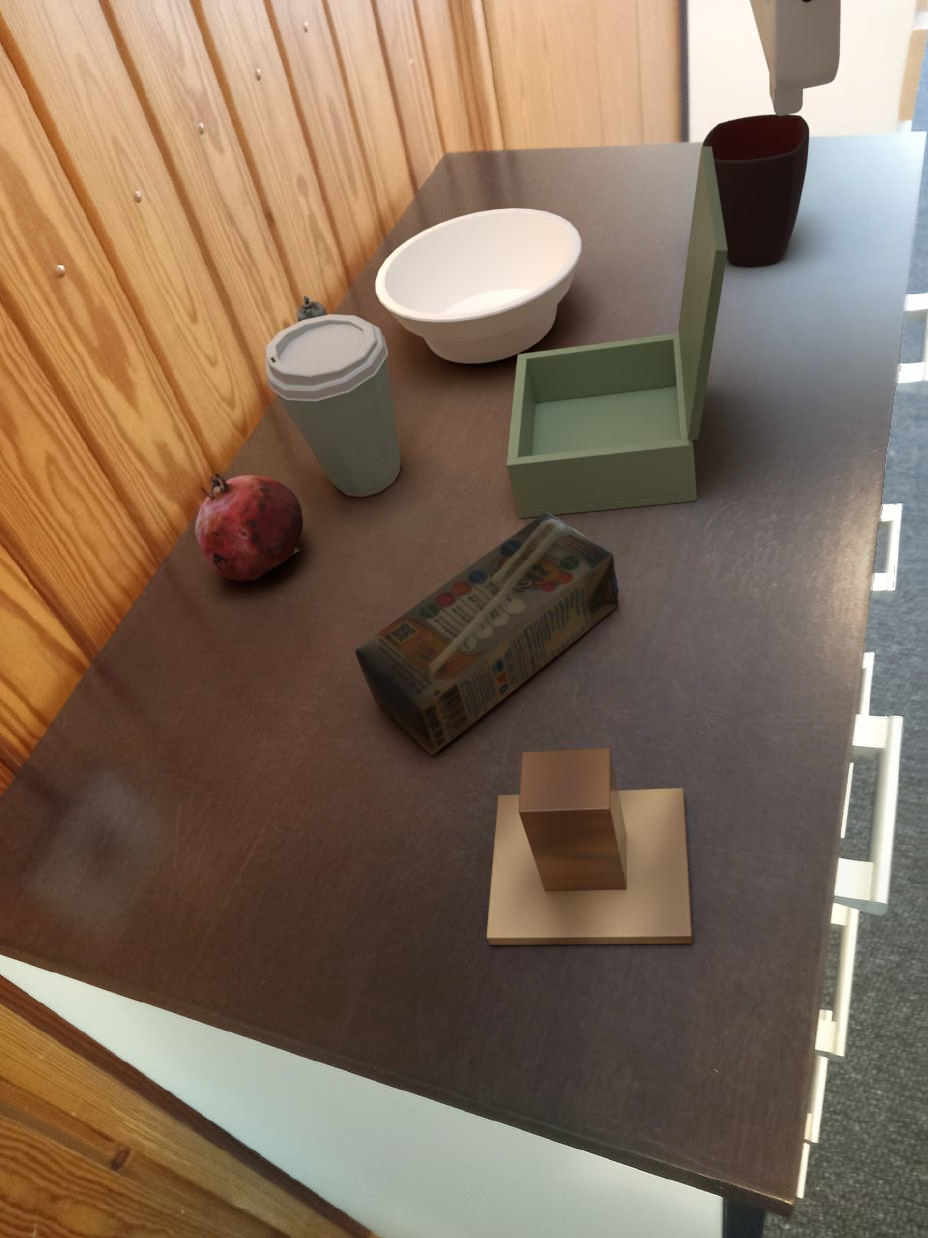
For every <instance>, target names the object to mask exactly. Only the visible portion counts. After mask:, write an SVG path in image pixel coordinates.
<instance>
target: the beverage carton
mask: <svg viewBox="0 0 928 1238" xmlns="http://www.w3.org/2000/svg"><path fill="white" fill-rule="evenodd" d="M614 557H615V556H614V553H612V552H611V551H610V550H609V549H607V548H605V547H604V546H602V545H601V544H598V543H597V542H595V540H592V539H590V538H589V537H587V536H586V535H584V534H582V533H581V532H580V531H578V530H576V529H575V528H573V527H572V526H570V525H568V524H567V523H566V522H564V521H563V520H561V519H560V518H558V517H556V515H552V514H550V513H547V512H546V513H544V514H542V515H541V516H540V517H536V518H535V519H534V520H533V521H531V522H530V523H528V524H527V525H525V526H524V527H522V528H521V529H519V531H517V532H516V533H514V534H512V535H511V536H510V537H508V538H507V539H505V540H503V542H501V543H499V544H498V545H497V546H496V547H494V548H493V549H492V550H490V551H489V552H487V553H486V554H484V555H482V556H481V557H480V558H479V559H477V560H476V561H474V562H473V563H472V564H470V565H469V566H468V567H466V568H465V569H463V570H462V571H460V572H459V573H458V574H456V575H455V576H453V577H452V578H450V580H448V581H447V582H445V583H443V584H442V585H441V586H440V587H439V588H437V589H436V590H435V591H433V592H432V593H431V594H429V595H428V596H426V597H425V598H423V599H422V600H420V601H418V602H417V604H415V605H414V606H413V607H411V608H410V609H408V610H407V611H406V612H404V613H403V614H402V615H400V616H398V618H396V619H395V620H394V621H392V622H391V623H388V625H387V626H385V627H384V628H382V629H381V630H380V631H379V632H377V633H376V634H375V635H373V636H371V637H370V638H369V639H368V640H367V641H366V642H364V643H363V644H362V645H360V646H359V647H357V648H356V649H355V651H354V654H355V656H356V659H357V662H358V664H359V668H360V669H361V672H362V674H363V676H364V679H365V680H366V684H367V686H368V688H369V691H370V693H371V695H372V697H373V699H374V701H375V702H376V703H377V704H378V705H379V707H381V708H382V709H383V710H384V711H385V712H386V713H387V714H388V715H389V716H390V717H391V718H392V719H393V720H394V721H395V722H396V723H397V724H399V726H400V727H401V728H402V729H403V730H404V731H405V732H406V733H407V734H408V735H409V736H410V737H411V738H412V739H414V741H416V742H417V743H418V744H419V745H420V747H422V748H423V749H424V750H425V751H426V752H427V753H428V754H429V755H432V756H435V754H437V753H438V752H439V751H440V750H441V749H443V748H444V747H445V746H447V745H448V744H449V743H450V742H452V741H453V740H454V739H456V738H457V737H458V736H459V735H461V734H462V733H464V731H466V730H467V729H468V728H469V727H471V726H472V725H474V723H476V722H477V721H478V720H480V719H481V718H482V717H483V716H485V715H486V714H487V713H489V711H491V710H492V709H493V708H494V707H496V706H497V705H498V704H499V703H500V702H502V701H503V700H504V699H505V698H507V697H509V695H510V694H512V693H513V692H514V691H515V690H517V689H518V688H519V687H520V686H521V685H523V684H524V683H525V682H526V681H528V680H529V679H530V678H531V677H533V676H534V675H535V674H537V673H538V672H539V671H540V670H541V669H543V667H545V666H546V665H547V664H549V663H550V662H551V661H552V660H553V659H555V658H556V657H557V656H559V655H560V654H561V653H562V652H564V651H565V650H567V649H568V648H569V647H570V646H571V645H572V644H573V643H575V642H576V641H577V640H578V639H580V638H581V637H582V636H584V635H585V634H586V633H587V632H588V631H589V630H591V629H592V628H593V627H594V626H595V625H596V624H598V623H599V621H601V620H603V619H604V618H605V617H606V616H608V614H610V613H611V612H612V611H614V610H615V609H616V608H617V607H618V606H619V604H620V603H619V592H620V591H619V587H618V579H617V575H616V567H615V558H614Z"/></svg>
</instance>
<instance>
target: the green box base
mask: <svg viewBox="0 0 928 1238" xmlns="http://www.w3.org/2000/svg"><path fill="white" fill-rule="evenodd" d="M514 377H515V378H514V387H513V388H514V389H513V399H512V408H511V418H510V427H509V437H508V447H507V456H506V465H505V466H506V471H507V473H508V479H509V481H510V482H509V483H510V486H511V490H512V494H513V500H514V502H515V503H514V504H515V507H516V511H517V515H518V519H528V518H529V519H530V518H538V517H540V516H541V515H542V514H544V513H546V512H547V513H550V514H552V515H553V516H558V515H559V516H560V515H568V514H569V515H570V514H579V513H589V512H599V511H607V510H608V511H609V510H618V509H619V510H620V509H630V508H638V507H639V508H641V507H649V506H658V505H659V506H660V505H669V504H671V505H672V504H678V503H680V504H681V503H689V502H697V501H698V493H697V492H698V491H697V480H696V479H697V478H696V467H695V465H696V464H695V451H694V439H688V437H687V425H686V413H685V400H684V388H683V376H682V364H681V352H680V340H679V332H674V333H667V334H660V335H653V336H651V335H650V336H645V337H636V338H629V339H622V340H616V341H615V340H614V341H607V342H600V343H595V344H585V345H578V346H571V347H564V348H556V349H549V350H543V351H534V352H525V353H518V354H517V359H516V368H515V376H514Z"/></svg>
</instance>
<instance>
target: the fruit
mask: <svg viewBox="0 0 928 1238" xmlns="http://www.w3.org/2000/svg"><path fill="white" fill-rule="evenodd" d="M214 475H215V477H214V476H212V475H211V476H210V477H209V479H210V493H209V492H208V491H207V490H206V489H205V488H204V487H202V486H201V487H200V490H201V491H202V493H204V494H205V496H207V497H206V498H205V499H204V500H203V502H202V503H201V505H200V508H199V511H198V514H197V517H196V521H195V526H194V535H195V538H196V541H197V544H198V546H199V548H200V550H201V553H202V554H203V557H204V558H205V561H206V563H207V564H208V565H209V567H210V569H211V570H212V571H213V572H214V573H216V574H217V575H219V576H221V577H223V578H225V579H230V580H235V581H241V582H248V581H250V582H251V581H255V580H258V579H259V578H261V577H263V576H265V575H266V574H267V573H270V571H272V570H274V569H275V568H277V567H278V566H280V565H281V564H283V563H285V562H287V560H289V558H291V557H292V555H294V554H296V553H298V552H301V550H302V548H299V547H298V544H299V541H300V538H301V534H302V531H303V527H304V516H303V511H302V507H301V504H300V501H299V500H298V498H297V496H296V494H295V493H294V492H293V491H292V490H291V489H290V488H289V487H288V486H287V485H285V484H283V483H282V482H280V481H278V480H277V479H274V478H271V477H267V476H261V475H254V474H244V475H239V476H236V477H232V478H229V479H228V480H227V481H226V479H224V478H223V476H222V475H221V474H219V472H217V471H214Z"/></svg>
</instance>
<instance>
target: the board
mask: <svg viewBox="0 0 928 1238" xmlns="http://www.w3.org/2000/svg"><path fill="white" fill-rule="evenodd" d="M684 790H685V789H684V788H683V787H674V788H673V787H671V788H649V789H648V788H647V789H646V788H645V789H644V788H643V789H623V790H619V789H618V792H619V797H620V802H621V807H622V813H623V818H624V823H625V828H626V850H627V889H617V890H565V891H545V890H544V888H543V885H542V882H541V878H540V875H539V872H538V869H537V866H536V863H535V860H534V857H533V854H532V851H531V848H530V845H529V842H528V839H527V836H526V833H525V830H524V827H523V824H522V821H521V818H520V815H519V796H520V793H519V794H499V795H497V803H496V804H497V805H496V818H495V828H494V829H495V830H494V841H493V842H494V843H493V853H492V855H493V856H492V867H491V878H490V889H489V903H488V914H487V915H488V916H487V926H486V940H487V942H488V945H490V946H524V945H525V946H529V945H531V946H534V945H535V946H538V945H540V946H541V945H542V946H543V945H545V946H546V945H548V946H549V945H658V944H659V945H667V944H668V945H673V944H675V945H676V944H678V945H680V944H681V945H682V944H688V945H689V944H693V943H694V940H693V922H692V906H691V905H692V904H691V889H690V886H691V885H690V874H689V873H690V870H689V855H688V852H689V851H688V837H687V821H686V820H687V818H686V817H687V816H686V804H685V803H686V802H685V801H686V799H685V791H684Z"/></svg>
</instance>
